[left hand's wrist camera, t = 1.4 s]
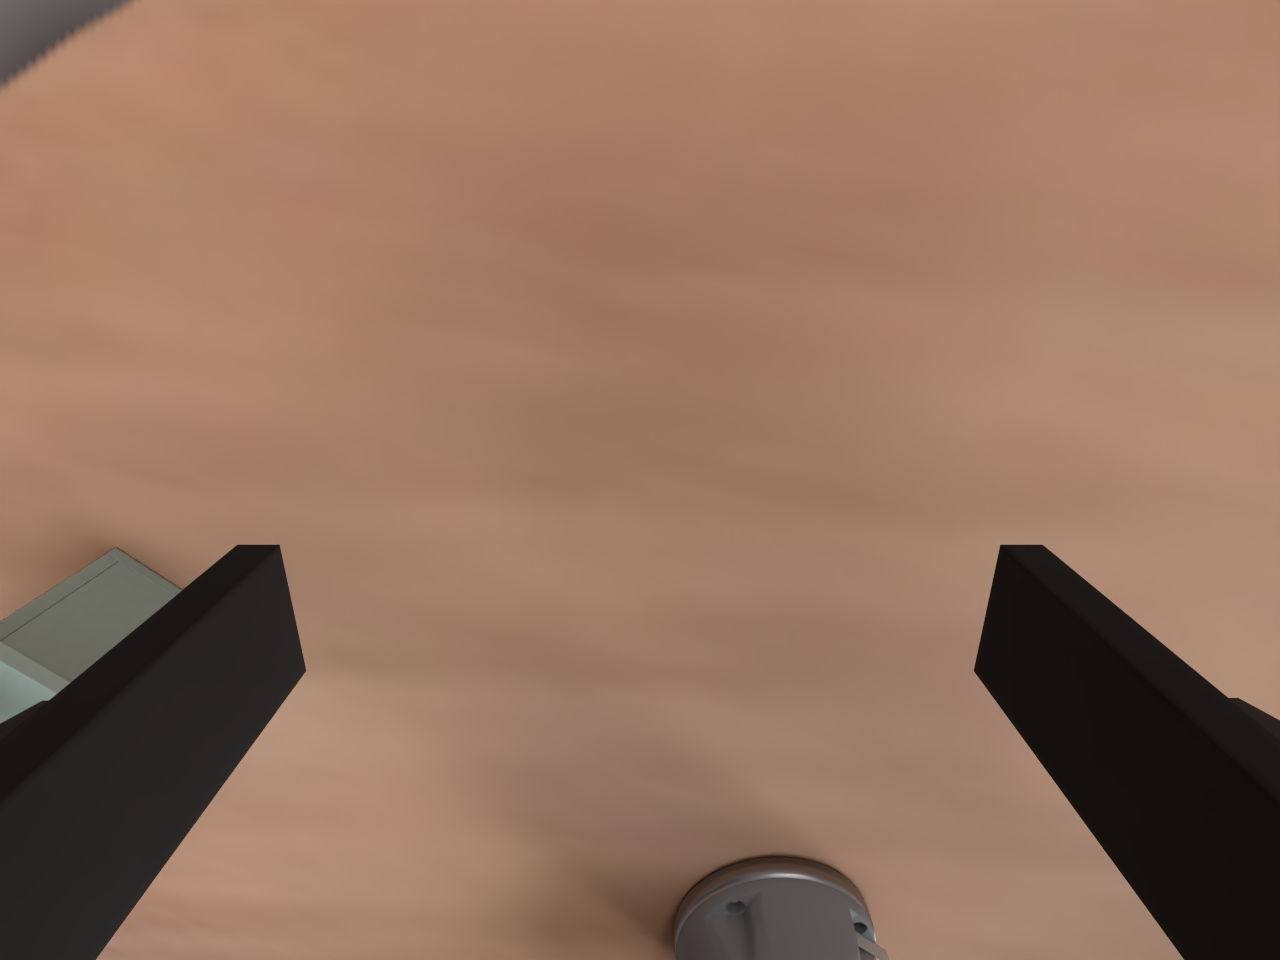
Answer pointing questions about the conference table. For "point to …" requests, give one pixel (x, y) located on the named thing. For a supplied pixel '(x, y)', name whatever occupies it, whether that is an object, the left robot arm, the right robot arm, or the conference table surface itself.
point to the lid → (24, 682)
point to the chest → (87, 614)
